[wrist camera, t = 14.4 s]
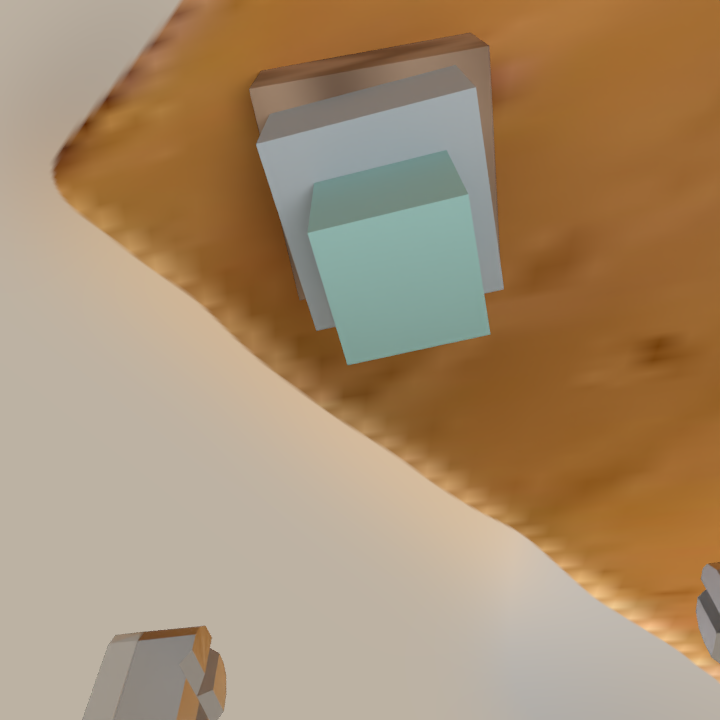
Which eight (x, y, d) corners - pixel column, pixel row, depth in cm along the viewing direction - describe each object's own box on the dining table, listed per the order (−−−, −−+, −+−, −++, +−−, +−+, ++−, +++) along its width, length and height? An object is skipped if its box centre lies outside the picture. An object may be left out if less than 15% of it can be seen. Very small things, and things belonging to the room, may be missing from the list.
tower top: (455, 64, 27) (476, 87, 23) (482, 242, 31) (504, 289, 27) (269, 113, 28) (255, 144, 23) (320, 279, 32) (316, 330, 28)
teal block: (446, 149, 24) (468, 194, 19) (467, 272, 26) (490, 334, 22) (314, 182, 24) (307, 233, 20) (347, 299, 27) (347, 365, 23)
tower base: (469, 31, 31) (489, 45, 26) (482, 230, 36) (500, 269, 32) (261, 69, 31) (249, 88, 27) (304, 259, 37) (299, 300, 32)
